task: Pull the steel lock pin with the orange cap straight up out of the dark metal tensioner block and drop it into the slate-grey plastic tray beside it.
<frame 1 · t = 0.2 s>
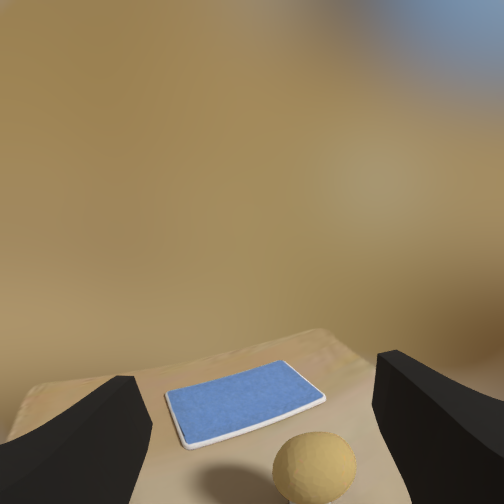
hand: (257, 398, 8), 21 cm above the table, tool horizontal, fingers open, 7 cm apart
tablet computer: (242, 404, 38), on the table
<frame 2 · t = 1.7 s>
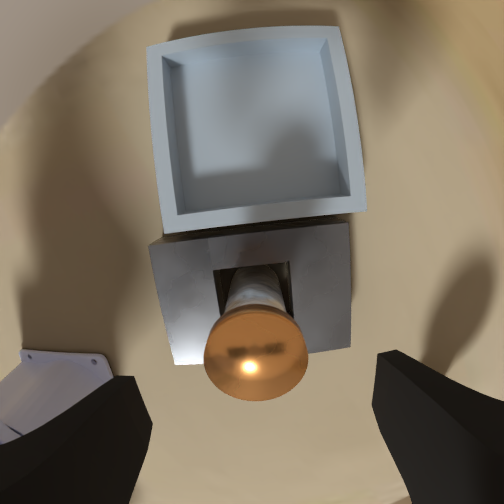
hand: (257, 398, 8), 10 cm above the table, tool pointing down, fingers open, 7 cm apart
tray: (254, 126, 16), on the table
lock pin: (255, 314, 14), in the tensioner block
tensioner block: (255, 286, 18), on the table
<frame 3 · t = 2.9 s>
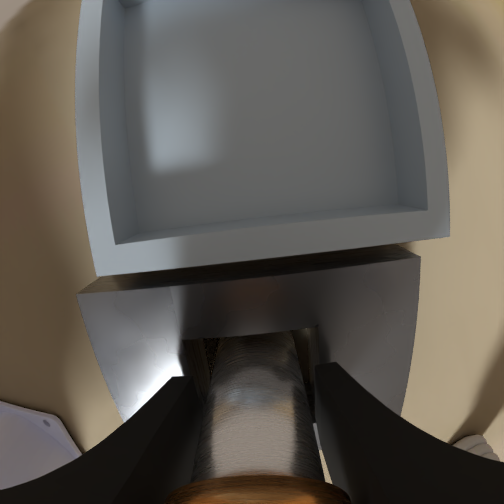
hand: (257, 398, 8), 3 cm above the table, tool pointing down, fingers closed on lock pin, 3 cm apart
tray: (255, 88, 9), on the table
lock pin: (257, 423, 7), in the tensioner block, touching gripper
light bulb: (456, 447, 13), on the table
tensioner block: (256, 348, 11), on the table
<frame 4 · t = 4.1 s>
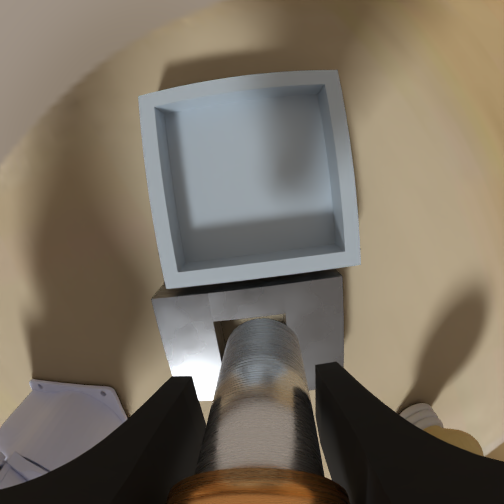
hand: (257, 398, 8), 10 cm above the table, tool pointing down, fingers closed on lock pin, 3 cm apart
tray: (250, 176, 16), on the table
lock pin: (261, 423, 7), point 11 cm above the table, touching gripper
light bulb: (409, 414, 21), on the table
tensioner block: (253, 329, 18), on the table
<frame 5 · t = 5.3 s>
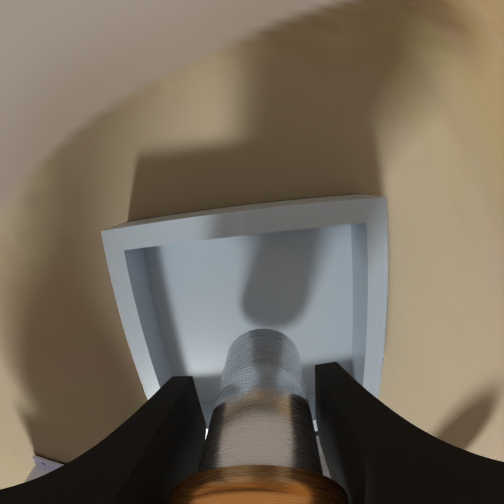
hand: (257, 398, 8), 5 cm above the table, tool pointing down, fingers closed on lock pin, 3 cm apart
tray: (256, 319, 13), on the table
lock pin: (261, 428, 7), point 6 cm above the table, touching gripper
when the fingers open (5 cm above the table, at t = 5.6 s): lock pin drops 2 cm, resting on tray.
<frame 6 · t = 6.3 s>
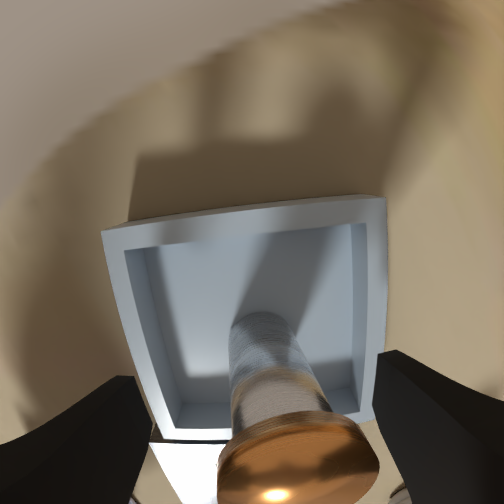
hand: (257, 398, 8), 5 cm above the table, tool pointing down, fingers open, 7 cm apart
tray: (256, 319, 13), on the table
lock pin: (275, 396, 9), in the tray, tilted 6°
light bulb: (404, 491, 18), on the table
tensioner block: (255, 450, 15), on the table
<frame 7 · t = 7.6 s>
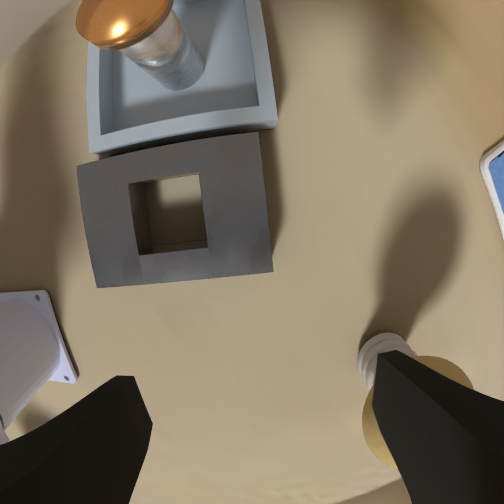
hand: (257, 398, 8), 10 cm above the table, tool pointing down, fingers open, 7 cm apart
tray: (180, 62, 15), on the table
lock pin: (155, 40, 11), in the tray, point 5 cm above the table
light bulb: (377, 350, 20), on the table
tensioner block: (178, 210, 17), on the table
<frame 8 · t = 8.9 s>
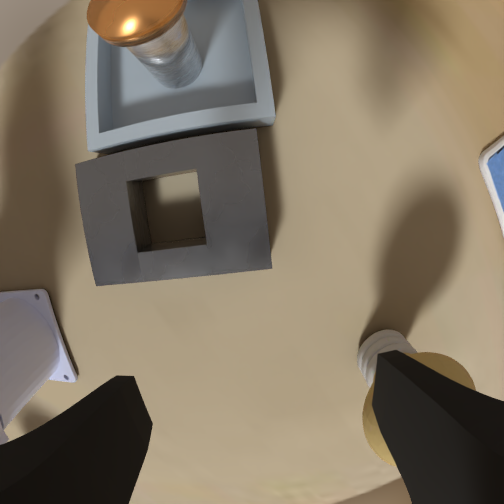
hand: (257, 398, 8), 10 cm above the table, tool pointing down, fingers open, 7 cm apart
tray: (178, 61, 15), on the table
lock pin: (160, 38, 11), in the tray, point 5 cm above the table
light bulb: (378, 347, 19), on the table
tensioner block: (176, 207, 17), on the table
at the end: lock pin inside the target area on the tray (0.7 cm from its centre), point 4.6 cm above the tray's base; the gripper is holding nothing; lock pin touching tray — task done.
